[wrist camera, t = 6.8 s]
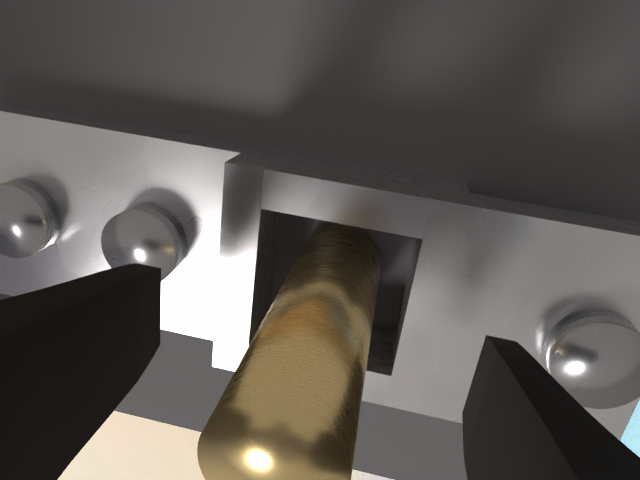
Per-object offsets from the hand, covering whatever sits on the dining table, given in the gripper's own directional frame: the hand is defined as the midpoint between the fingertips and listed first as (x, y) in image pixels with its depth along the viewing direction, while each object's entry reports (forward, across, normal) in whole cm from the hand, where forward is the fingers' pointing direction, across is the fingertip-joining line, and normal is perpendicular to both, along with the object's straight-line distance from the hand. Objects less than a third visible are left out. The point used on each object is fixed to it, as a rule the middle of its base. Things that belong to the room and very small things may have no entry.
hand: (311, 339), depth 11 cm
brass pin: (+4, 0, 0) cm, 5 cm away
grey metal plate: (+4, +1, 0) cm, 5 cm away
